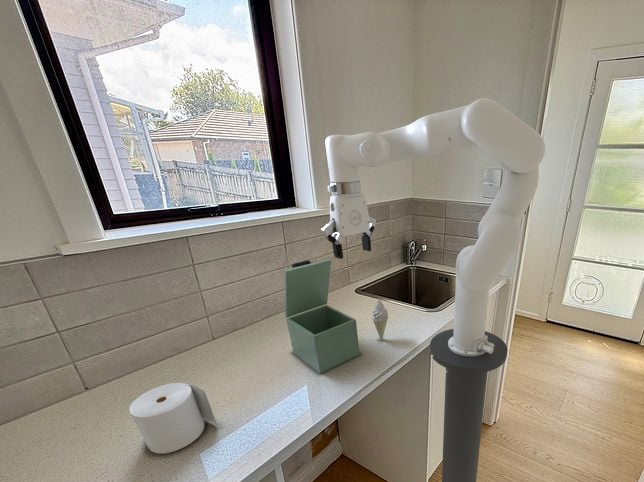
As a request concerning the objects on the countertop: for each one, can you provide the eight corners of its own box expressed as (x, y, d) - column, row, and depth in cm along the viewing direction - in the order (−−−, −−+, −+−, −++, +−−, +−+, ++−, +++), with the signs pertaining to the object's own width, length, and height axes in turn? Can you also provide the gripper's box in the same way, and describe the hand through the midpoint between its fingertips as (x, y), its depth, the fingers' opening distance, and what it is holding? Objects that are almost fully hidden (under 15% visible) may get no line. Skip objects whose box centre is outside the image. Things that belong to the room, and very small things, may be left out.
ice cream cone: (389, 343, 106) (387, 300, 100) (373, 344, 106) (370, 301, 99) (389, 336, 111) (387, 294, 104) (373, 336, 110) (370, 294, 104)
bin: (359, 354, 101) (356, 319, 96) (320, 373, 92) (313, 336, 87) (331, 336, 111) (326, 304, 106) (293, 352, 102) (286, 318, 97)
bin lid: (331, 260, 95) (321, 251, 97) (285, 271, 86) (276, 261, 88) (327, 304, 105) (318, 294, 107) (286, 317, 97) (277, 307, 99)
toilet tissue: (141, 437, 73) (122, 401, 68) (200, 407, 81) (187, 373, 76) (157, 463, 66) (137, 425, 62) (219, 428, 74) (206, 392, 70)
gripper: (325, 193, 79) (335, 263, 86) (380, 186, 89) (385, 249, 97) (308, 191, 83) (319, 258, 91) (363, 185, 94) (369, 245, 102)
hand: (353, 254), depth 94 cm, fingers open, 9 cm apart
